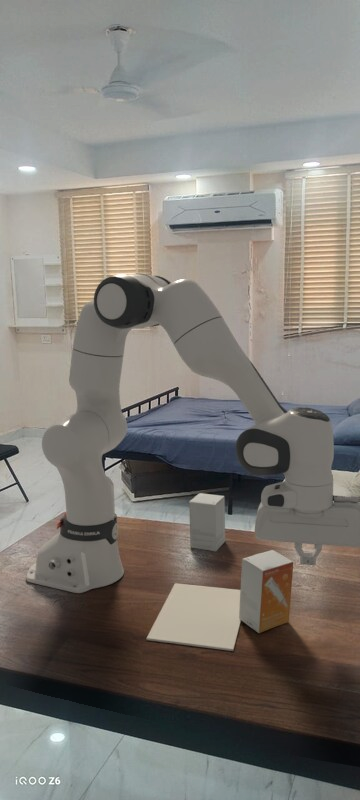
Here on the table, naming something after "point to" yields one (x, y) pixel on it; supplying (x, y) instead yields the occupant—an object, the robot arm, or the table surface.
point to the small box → (265, 590)
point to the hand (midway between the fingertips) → (308, 563)
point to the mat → (199, 617)
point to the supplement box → (207, 521)
